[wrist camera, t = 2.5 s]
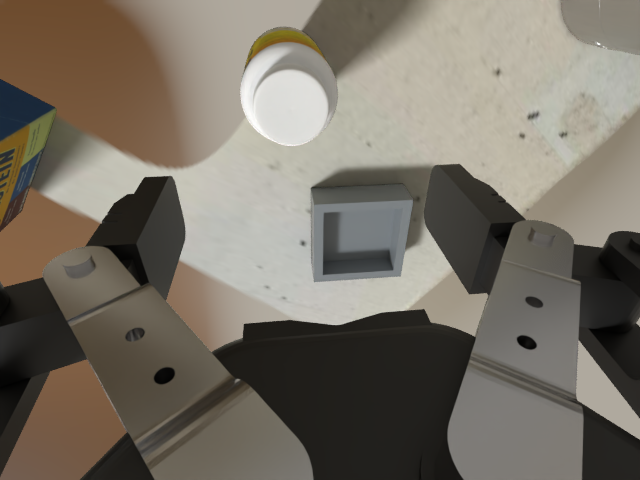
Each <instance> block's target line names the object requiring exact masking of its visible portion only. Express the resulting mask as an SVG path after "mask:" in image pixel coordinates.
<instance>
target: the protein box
mask: <svg viewBox="0 0 640 480" xmlns="http://www.w3.org/2000/svg"><path fill="white" fill-rule="evenodd" d="M56 111H57V110H56V108H55V107H53V106H51V105H49V104H47V103H45V102H43V101H41V100H40V99H38V98H36V97H33V96H32V95H30V94H28V93H26V92H24V91H22V90H20V89H18V88H16V87H15V86H13V85H11V84H9V83H7V82H5V81H3V80H1V79H0V231H1V230H2V229H4V228H5V227H6V226H7V225H8V224H9V223H10V222H11V221H12V220H13V219H14V218H15V217H16V216H17V215H18V214H19V213H20V212H21V211H22V209H23V205H24V203H25V200H26V197H27V194H28V191H29V188H30V186H31V183H32V180H33V178H34V175H35V172H36V169H37V166H38V164H39V161H40V158H41V155H42V152H43V149H44V146H45V144H46V141H47V138H48V135H49V132H50V129H51V126H52V123H53V120H54V117H55V115H56Z"/></svg>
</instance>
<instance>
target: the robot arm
mask: <svg viewBox="0 0 640 480" xmlns="http://www.w3.org/2000/svg"><path fill="white" fill-rule="evenodd" d="M561 11H562V14H563V18H564V22H565V24H566V26H567V28H568V29H569V31H570V33H572V34H573V35H574V36H575V37H576V38H577V39H578V40H580V41H582V42H585V43H587V44H591V45H595V46H598V47H601V48H605V49H610V50H617V51H622V52H627V53H631V54H635V55H640V0H561ZM107 214H108V215H106V216H105V218H104V219H103V221H102V224H100V225H99V227H98V228H97V230H96V231H95V233H94V234H93V236H92V237H91V239H90V240H89V242H88V243H87V245H86V246H85V247H81V248H76V249H73V250H70V251H68V252H65V253H63V254H61V255H59V256H58V257H56V258H54V259H53V260H52V261H51V262H49V263H48V264H47V265H46V267H45V268H44V270H43V277H42V278H39V279H35V280H31V281H27V282H23V283H19V284H15V285H11V286H7V287H3V285H2V284H1V282H0V476H1V474H2V472H3V470H4V468H5V465H6V463H7V461H8V459H9V457H10V455H11V453H12V451H13V449H14V447H15V444H16V442H17V440H18V438H19V436H20V434H21V432H22V430H23V427H24V425H25V423H26V421H27V419H28V417H29V415H30V413H31V411H32V409H33V407H34V405H35V402H36V400H37V398H38V396H39V394H40V392H41V390H42V388H43V385H44V383H45V381H46V379H47V377H48V375H49V373H50V371H52V370H55V369H58V368H61V367H64V366H67V365H70V364H73V363H76V362H79V361H82V360H86V359H87V360H88V362H89V364H90V366H91V367H92V369H93V371H94V373H95V375H96V377H97V378H98V380H99V382H100V384H101V386H102V388H103V389H104V391H105V393H106V395H107V397H108V399H109V400H110V402H111V404H112V406H113V408H114V410H115V411H116V413H117V415H118V417H119V419H120V421H121V422H122V424H123V426H124V428H125V430H126V432H127V433H126V434H125V435H124V436H123V437H122V438H121V439H120V440H119V441H118V442H117V443H116V444H115V445H114V446H113V447H112V448H111V449H110V450H109V451H108V452H107V453H106V454H105V455H104V456H103V457H102V458H101V459H100V460H99V461H98V462H97V463H96V464H95V465H94V466H93V467H92V468H91V469H90V470H89V471H88V472H87V473H86V474H85V475H84V476H83V477H82V478H81V479H80V480H640V440H639V439H638V438H636V437H634V436H633V435H631V434H629V433H628V432H626V431H625V430H623V429H622V428H620V427H618V426H617V425H615V424H614V423H612V422H611V421H609V420H607V419H606V418H604V417H603V416H601V415H599V414H597V413H596V412H595V411H593V410H591V409H590V408H588V407H587V406H585V405H583V404H582V403H580V402H579V401H577V399H576V381H577V359H578V339H579V341H580V342H581V343H582V345H583V346H584V347H585V348H586V350H587V351H588V352H589V354H590V355H591V356H592V357H593V359H594V360H595V361H596V363H597V364H598V365H599V366H600V368H601V369H602V370H603V372H604V373H605V374H606V375H607V377H608V378H609V379H610V381H611V382H612V383H613V384H614V386H615V387H616V388H617V390H618V391H619V392H620V393H621V395H622V396H623V397H624V399H625V400H626V401H627V402H628V404H629V405H630V406H631V407H632V409H633V410H634V411H635V413H636V414H637V415H638V416H639V418H640V327H639V326H638V325H637V324H636V322H637V321H638V319H639V318H640V233H636V232H629V231H618V232H614V233H611V234H610V235H609V237H608V239H607V241H606V243H605V245H604V246H603V248H599V247H591V246H584V245H576V244H574V240H573V238H572V237H571V235H569V233H567V232H566V231H565V230H563V229H561V228H559V227H557V226H555V225H553V224H549V223H546V222H542V221H536V220H526V219H525V218H524V217H523V216H521V215H520V214H519V213H518V212H517V211H516V210H515V209H514V208H513V207H512V206H511V205H510V204H509V203H506V200H505V199H503V198H502V197H501V196H499V195H498V193H497V192H496V191H495V190H494V189H493V188H492V187H491V186H490V185H488V184H486V183H484V182H482V181H480V180H478V179H476V178H474V177H473V176H472V175H471V174H470V173H469V172H467V171H466V170H465V169H464V168H463V167H462V166H461V165H460V164H450V165H435V166H434V167H433V169H432V172H431V176H430V182H429V187H428V192H427V198H426V203H425V209H424V219H425V224H426V227H427V229H428V230H429V232H430V233H431V235H432V236H433V238H434V240H435V241H436V243H437V244H438V246H439V248H440V249H441V251H442V252H443V254H444V255H445V257H446V259H447V260H448V262H449V263H450V265H451V266H452V268H453V270H454V271H455V273H456V274H457V276H458V277H459V279H460V281H461V282H462V284H463V285H464V287H465V288H466V290H467V292H468V293H469V294H479V293H487V294H488V295H489V296H488V298H487V301H486V304H485V307H484V310H483V313H482V316H481V319H480V322H479V325H478V328H477V331H476V334H475V337H474V336H472V335H470V334H468V333H466V332H463V331H461V330H458V329H456V328H452V327H449V326H446V325H441V324H436V323H431V322H430V320H429V318H428V316H427V314H426V312H425V310H424V309H422V310H409V311H397V312H385V313H379V314H376V315H372V316H369V317H366V318H362V319H359V320H356V321H352V322H349V323H346V324H342V325H327V324H319V323H310V322H301V321H293V320H287V321H273V322H262V323H249V324H244V330H243V338H242V339H239V340H236V341H233V342H231V343H228V344H226V345H224V346H222V347H220V348H218V349H216V350H214V351H213V352H211V351H210V350H209V349H208V348H207V347H206V346H205V345H204V344H203V342H202V341H201V340H200V339H199V338H198V337H197V336H196V335H195V333H194V332H193V331H192V330H191V329H190V328H189V327H188V326H187V325H186V323H185V322H184V321H183V320H182V319H181V318H180V316H179V315H178V314H177V313H176V312H175V311H174V310H173V309H172V307H171V306H170V305H169V304H168V303H167V302H166V299H167V295H168V292H169V289H170V286H171V283H172V279H173V276H174V273H175V270H176V267H177V264H178V261H179V257H180V254H181V251H182V248H183V245H184V241H185V223H184V218H183V214H182V210H181V206H180V201H179V197H178V193H177V189H176V185H175V181H174V179H173V177H171V176H162V177H145V178H144V179H143V180H142V182H141V183H140V185H139V187H138V188H137V190H136V192H135V193H134V194H127V195H126V196H124V197H123V198H121V199H120V200H118V201H117V202H116V203H114V204H113V206H112V207H111V209H110V210H109V212H108V213H107Z"/></svg>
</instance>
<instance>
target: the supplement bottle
mask: <svg viewBox="0 0 640 480" xmlns="http://www.w3.org/2000/svg"><path fill="white" fill-rule="evenodd" d="M240 91H241V92H240V93H241V94H240V95H241V103H242V107H243V110H244V113H245V115H246V117H247V119H248V121H249V122H250V123H251V125H252V126H253V127H254V128H255V129H256V130H257V131H258V132H259V133H260V134H261V135H263V136H264V137H266V138H268V139H270V140H272V141H274V142H276V143H278V144H281V145H286V146H297V145H302V144H305V143H307V142H309V141H311V140H312V139H314V138H315V137H316V136H317V135H319V134H320V133H321V132H322V131H323V130H324V129H325V128H326V127H327V125H328V124H329V123H330V121H331V119H332V117H333V115H334V113H335V110H336V106H337V100H338V89H337V83H336V79H335V76H334V74H333V71H332V69H331V67H330V66H329V64H328V63H327V61H326V59H325V58H324V56H323V55H322V53H321V51H320V50H319V48H318V46H317V45H316V44H315V42H314V41H313V40H312V39H311V38H310V37H309V36H308V35H307V34H305V33H304V32H302V31H300V30H298V29H295V28H291V27H277V28H273V29H271V30H268V31H266V32H265V33H263V34H262V35H261V36H260V37H259V38H258V39H257V40H256V41H255V42H254V44H253V45H252V47H251V49H250V52H249V55H248V58H247V62H246V65H245V70H244V73H243V76H242V81H241V90H240Z"/></svg>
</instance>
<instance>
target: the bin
mask: <svg viewBox="0 0 640 480" xmlns="http://www.w3.org/2000/svg"><path fill="white" fill-rule="evenodd" d="M412 205H413V199H412V197H411V195H410V194H409V192H408V191H407V189H406V188H405V186H404V184H390V185H367V186H345V187H322V188H311V263H312V270H313V277H314V282H322V281H337V280H352V279H367V278H382V277H397V276H401V271H402V265H403V259H404V253H405V247H406V241H407V235H408V229H409V223H410V217H411V211H412Z"/></svg>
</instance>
